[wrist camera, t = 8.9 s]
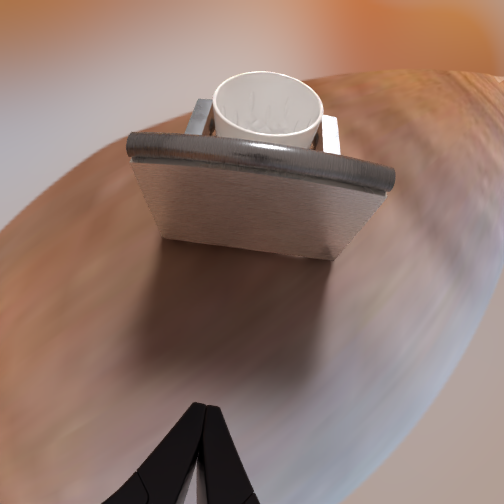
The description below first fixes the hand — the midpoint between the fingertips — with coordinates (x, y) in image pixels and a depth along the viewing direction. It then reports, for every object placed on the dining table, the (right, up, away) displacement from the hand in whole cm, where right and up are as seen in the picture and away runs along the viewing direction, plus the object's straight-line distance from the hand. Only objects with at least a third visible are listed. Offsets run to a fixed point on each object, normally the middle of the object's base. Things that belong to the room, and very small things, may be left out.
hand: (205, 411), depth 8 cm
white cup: (+2, +12, +20) cm, 23 cm away
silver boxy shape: (+2, +11, +19) cm, 22 cm away
